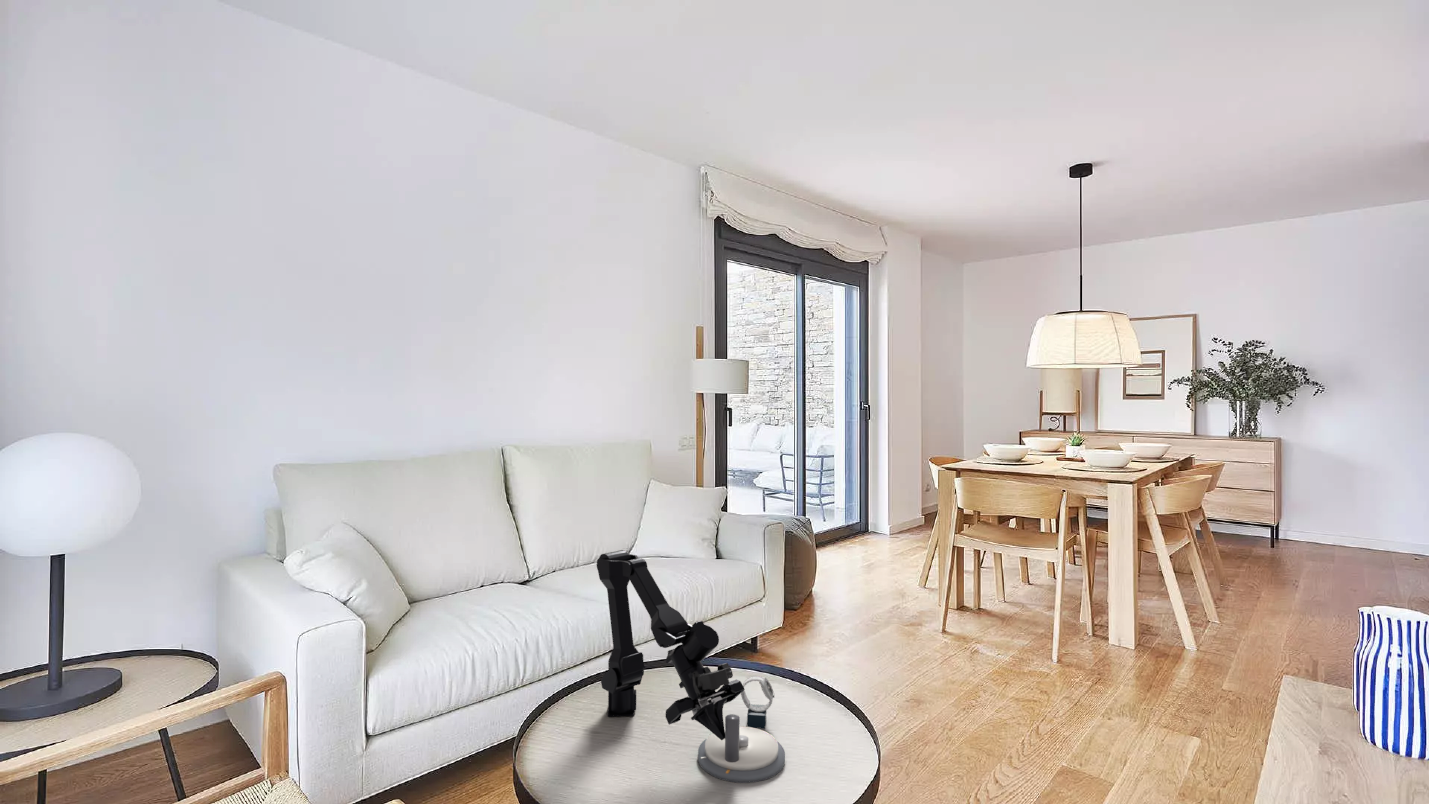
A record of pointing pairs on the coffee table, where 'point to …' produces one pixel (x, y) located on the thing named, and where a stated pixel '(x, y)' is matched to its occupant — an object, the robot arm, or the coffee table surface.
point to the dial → (741, 747)
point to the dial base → (741, 775)
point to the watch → (758, 712)
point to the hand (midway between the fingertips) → (723, 739)
